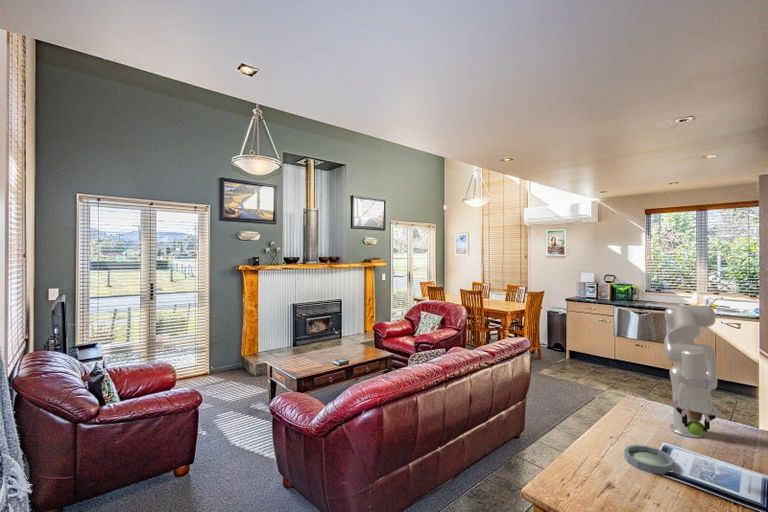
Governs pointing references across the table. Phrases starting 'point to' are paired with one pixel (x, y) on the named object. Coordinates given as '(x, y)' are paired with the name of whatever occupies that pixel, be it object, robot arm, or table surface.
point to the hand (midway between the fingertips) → (695, 427)
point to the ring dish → (648, 459)
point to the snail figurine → (695, 423)
